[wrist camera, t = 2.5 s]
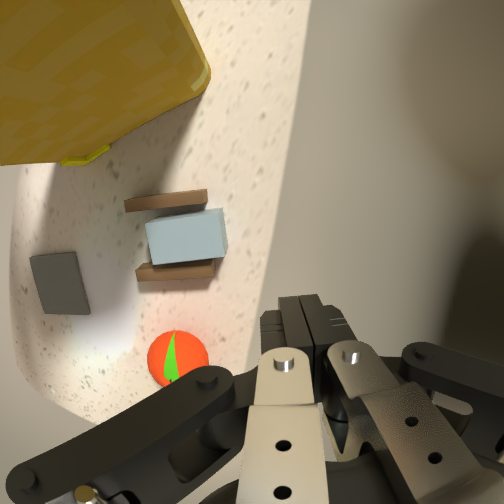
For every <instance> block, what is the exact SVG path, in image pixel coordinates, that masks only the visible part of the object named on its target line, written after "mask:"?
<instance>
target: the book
mask: <svg viewBox="0 0 504 504" xmlns="http://www.w3.org/2000/svg"><path fill="white" fill-rule="evenodd" d="M210 79H211V68H210V66H209V64H208V62H207V59H206V57H205V55H204V53H203V50H202V48H201V46H200V44H199V41H198V39H197V37H196V35H195V33H194V30H193V28H192V26H191V24H190V22H189V20H188V17H187V15H186V13H185V11H184V9H183V7H182V4H181V2H180V0H0V166H4V165H17V164H32V163H54V162H60V164H61V166H79V165H80V166H84V165H86V164H88V163H89V162H91V161H92V160H94V159H95V158H97V157H98V156H100V155H101V154H103V153H104V152H106V151H107V150H109V149H111V147H110V144H111V143H113V142H114V141H116V140H118V139H119V138H121V137H122V136H124V135H126V134H127V133H129V132H131V131H133V130H134V129H136V128H138V127H139V126H141V125H143V124H145V123H147V122H148V121H150V120H152V119H154V118H156V117H158V116H159V115H161V114H163V113H165V112H167V111H169V110H171V109H173V108H175V107H177V106H179V105H181V104H183V103H185V102H187V101H189V100H191V99H193V98H195V97H198V96H199V95H200V94H201V93H202V92H203V91H204V90H205V89H206V88H207V86H208V83H209V81H210Z"/></svg>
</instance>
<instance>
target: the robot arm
mask: <svg viewBox="0 0 504 504" xmlns="http://www.w3.org/2000/svg"><path fill="white" fill-rule="evenodd" d="M260 326H261V327H260V329H261V353H262V356H261V357H260V359H259V363H258V365H257V366H256V367H255V368H254V369H252V370H251V371H248V372H246V373H243V374H240V375H236V376H233V375H232V374H231V372H230V371H229V370H227V369H225V368H223V367H220V366H202V367H198V368H195V369H193V370H191V371H189V372H188V373H186V374H185V375H183V376H181V377H180V378H178V379H177V380H175V381H173V382H172V383H170V384H168V385H167V386H165V387H164V388H162V389H160V390H159V391H157V392H155V393H154V394H152V395H150V396H149V397H147V398H145V399H144V400H142V401H140V402H138V403H137V404H135V405H133V406H131V407H130V408H128V409H126V410H125V411H123V412H121V413H119V414H117V415H116V416H114V417H112V418H110V419H108V420H107V421H105V422H103V423H101V424H99V425H97V426H96V427H94V428H92V429H90V430H88V431H87V432H84V433H82V434H81V435H79V436H77V437H75V438H73V439H71V440H69V441H67V442H65V443H63V444H61V445H59V446H57V447H55V448H53V449H51V450H49V451H47V452H45V453H43V454H40V455H38V456H36V457H34V458H32V459H30V460H27V461H25V462H23V463H21V464H19V465H17V466H16V467H14V468H13V469H12V470H11V471H10V473H9V474H8V476H7V479H6V491H7V494H8V496H9V498H10V499H11V500H12V501H13V502H14V503H15V504H176V503H178V502H179V501H180V500H182V499H183V498H185V497H186V496H187V495H188V494H190V493H191V492H193V491H194V490H195V489H196V488H198V487H199V486H200V485H202V484H203V483H204V482H205V481H206V480H208V479H209V478H210V477H211V476H213V474H215V473H216V472H217V471H219V469H221V468H222V467H223V466H224V465H226V464H227V463H228V462H229V461H230V460H231V459H232V458H234V456H236V455H237V454H238V453H239V452H240V451H241V449H242V448H243V445H244V450H243V457H242V464H241V471H240V479H238V480H235V481H233V482H231V483H228V484H226V485H224V486H222V487H221V488H219V489H217V490H216V491H214V492H213V493H211V494H210V495H209V496H207V497H206V498H205V499H204V500H203V501H201V502H200V503H199V504H504V366H502V365H499V364H496V363H492V362H489V361H486V360H482V359H479V358H476V357H473V356H469V355H466V354H463V353H460V352H457V351H454V350H451V349H448V348H444V347H442V346H438V345H435V344H432V343H428V342H415V343H411V344H409V345H407V346H406V347H405V348H404V349H403V352H402V356H401V357H383V356H378V354H377V353H376V352H375V350H374V349H373V348H372V347H371V346H370V345H368V344H367V343H364V342H361V341H358V340H357V339H356V337H355V335H354V333H353V331H352V330H351V328H350V326H349V325H348V323H347V321H346V319H344V316H343V314H342V313H341V311H340V310H339V309H337V308H336V307H334V306H333V305H326V306H323V305H322V303H321V301H320V299H319V296H318V295H317V294H312V295H301V296H298V297H297V296H290V297H279V298H278V310H271V311H265V312H264V314H263V315H262V316H261V317H260ZM436 391H437V392H440V393H442V394H445V395H448V396H450V397H453V398H456V399H459V400H461V401H464V402H467V403H469V404H470V405H471V406H472V408H473V412H472V413H471V414H469V415H461V414H459V413H456V412H453V411H451V410H448V409H446V408H443V407H440V406H438V405H435V404H434V403H433V402H432V400H433V397H434V395H435V392H436ZM319 402H322V404H323V417H322V418H323V423H324V426H325V428H326V431H327V434H328V436H329V439H330V442H331V445H332V448H333V450H334V453H335V456H336V459H337V462H329V461H325V459H324V458H325V457H324V448H323V440H322V432H321V424H320V416H319V408H318V404H317V403H319Z"/></svg>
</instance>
